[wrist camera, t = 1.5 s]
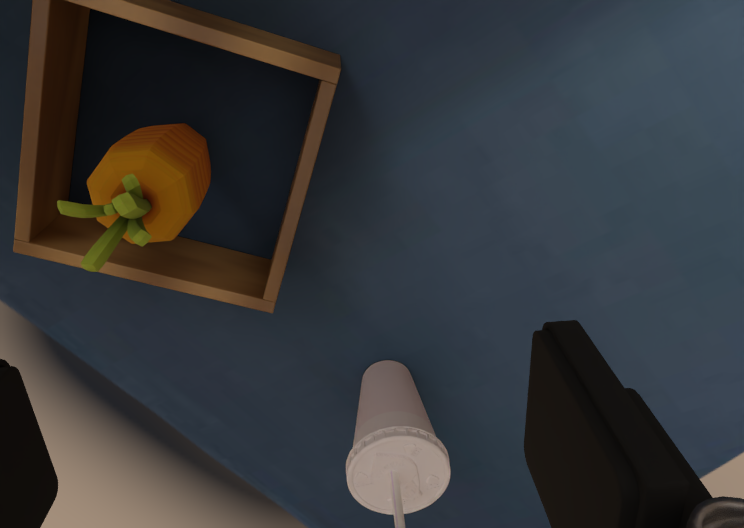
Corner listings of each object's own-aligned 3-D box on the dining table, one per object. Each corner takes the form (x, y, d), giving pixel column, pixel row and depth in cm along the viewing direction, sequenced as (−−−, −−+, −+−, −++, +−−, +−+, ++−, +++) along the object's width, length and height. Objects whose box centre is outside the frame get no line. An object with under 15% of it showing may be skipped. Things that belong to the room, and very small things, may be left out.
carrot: (179, 191, 39) (95, 312, 25) (131, 121, 37) (12, 210, 23) (247, 156, 38) (199, 260, 24) (203, 82, 36) (122, 151, 22)
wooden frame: (53, 215, 39) (12, 252, 34) (78, -29, 33) (33, -28, 28) (280, 272, 42) (272, 313, 37) (340, 55, 36) (341, 69, 31)
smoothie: (397, 329, 44) (422, 474, 31) (446, 386, 46) (488, 543, 34) (326, 375, 45) (322, 532, 33) (377, 428, 48) (392, 594, 35)
